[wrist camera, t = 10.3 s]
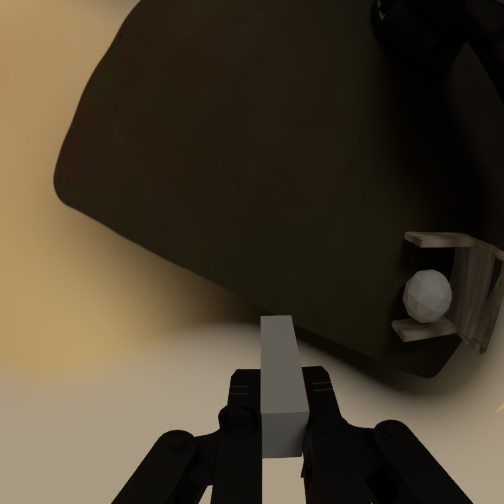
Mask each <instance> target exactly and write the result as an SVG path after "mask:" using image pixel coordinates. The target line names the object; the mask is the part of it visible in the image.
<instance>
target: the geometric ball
mask: <svg viewBox="0 0 504 504" xmlns="http://www.w3.org/2000/svg"><path fill="white" fill-rule="evenodd" d="M451 300H452V291H451V288H450V284H449V282H448V281H447V279H446V277H445V276H444V275H443V274H441V273H440V272H438V271H435V270H433V269H432V270H425V271H418V272H417V273H416V274H415V275H414V276H413V277H412V278H411V279H410V280H409V281H408V282H406V286H405V290H404V295H403V302H404V305H405V307H406V310H407V313H408V315H409V316H411V317H413V318H414V319H416V320H417V321H419V322H421V323H426V322H433V321H437V320H438V319H439V318H440V317H441V316H442V315H443V314H444V313H445V312H446V311H447V310H448V309H449V306H450V303H451Z"/></svg>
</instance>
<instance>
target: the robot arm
mask: <svg viewBox="0 0 504 504" xmlns="http://www.w3.org/2000/svg"><path fill="white" fill-rule="evenodd" d="M371 15H372V20H373V23H374V26H375V28H376V30H377V32H378V33H379V35H380V36H381V38H382V39H383V40H384V42H385V43H386V44H387V45H388V46H389V47H390V48H391V49H392V50H393V51H394V52H395V53H396V54H397V55H399V56H400V57H401V58H403V59H404V60H406V61H407V62H409V63H411V64H413V65H415V66H417V67H420V68H423V69H428V70H437V69H441V68H443V67H445V66H447V65H449V64H451V63H452V62H453V61H454V60H455V59H456V57H457V55H458V54H459V52H460V51H461V49H462V47H463V46H464V44H465V43H466V42H468V43H469V45H470V46H471V47H472V49H473V50H474V52H475V54H476V55H477V57H478V58H479V60H480V62H481V63H482V65H483V67H484V68H485V70H486V72H487V74H488V75H489V77H490V79H491V81H492V83H493V85H494V86H495V88H496V90H497V92H498V94H499V96H500V98H501V100H502V102H503V107H504V0H375V1H374V3H373V5H372V9H371ZM218 420H219V425H220V429H219V430H217V431H216V432H214V433H211V434H208V435H203V436H197V437H194V436H193V435H192V434H191V433H189V432H187V431H182V430H172V431H168V432H166V433H164V434H163V435H162V436H161V437H160V438H159V439H158V440H157V442H156V443H155V444H154V446H153V447H152V449H151V450H150V451H149V453H148V454H147V455H146V457H145V458H144V460H143V461H142V462H141V464H140V465H139V466H138V468H137V469H136V471H135V472H134V473H133V475H132V476H131V477H130V479H129V480H128V482H127V483H126V484H125V486H124V487H123V488H122V490H121V491H120V492H119V494H118V495H117V496H116V498H115V499H114V500H113V502H112V503H111V504H199V502H200V500H201V498H202V496H203V494H204V492H205V490H206V488H207V486H209V485H213V488H212V495H211V503H210V504H262V458H288V457H301V456H302V453H303V457H304V463H303V468H302V473H301V478H303V477H304V486H305V496H306V504H371V503H372V504H473V503H472V501H471V500H470V499H469V498H468V497H467V496H466V494H464V492H463V491H462V490H461V489H460V487H459V486H458V485H457V484H456V483H455V482H454V480H452V478H451V477H450V476H449V475H448V473H447V472H446V471H445V470H444V469H443V468H442V466H441V465H440V464H439V463H438V462H437V461H436V460H435V458H434V457H433V456H432V455H431V454H430V452H429V451H428V450H427V449H426V448H425V447H424V445H423V444H422V443H421V442H420V441H419V440H418V438H417V437H416V436H415V435H414V434H413V433H412V431H411V430H410V429H409V428H408V427H407V426H406V425H405V424H403V423H402V422H400V421H397V420H386V421H382V422H380V423H379V424H377V425H376V426H375V428H362V427H356V426H353V425H350V424H349V423H348V422H347V421H346V420H345V419H344V418H342V416H341V414H340V411H339V407H338V404H337V400H336V397H335V393H334V390H333V387H332V383H331V380H330V377H329V374H328V372H327V371H326V370H325V369H324V368H323V367H322V366H312V367H301V363H300V358H299V354H298V348H297V343H296V338H295V333H294V328H293V323H292V318H291V316H261V369H237V370H236V371H235V373H234V374H233V375H232V376H231V381H230V388H229V396H228V403H227V406H225V407H224V408H223V409H221V411H220V413H219V415H218Z"/></svg>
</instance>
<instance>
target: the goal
mask: <svg viewBox="0 0 504 504" xmlns="http://www.w3.org/2000/svg"><path fill="white" fill-rule="evenodd" d="M404 239H406V240H408V241H410V242H412V243H413V244H415V245H417V246H419V247H455V254H454V261H453V267H452V273H451V278H450V288H451V291H452V300H451V303H450V306H449V309H448V310H447V311H446V312H445V313H444V314H443V315H442V316H441V317H440V318H439V319H438V320H437V321H433V322H426V323H421V322H419V321H417V320H416V319H414V318H410V319H402V320H393V321H392V327H393V329H394V330H395V331H396V332H397V334H398V335H399V336H400V338H401V339H402V340H403V342H408V341H414V340H420V339H426V338H432V337H437V336H443V335H448V334H453V333H457V334H458V335H459V336H460V337H461V338H462V339H463V340H464V341H465V342H466V343H467V344H468V345H472V347H473V348H474V349H475V350H476V351H477V352H478V353H480V354H482V353H485V351H486V349H487V346H488V344H489V341H490V338H491V335H492V332H493V329H494V326H495V323H496V320H497V316H498V313H499V310H500V306H501V302H502V298H503V295H504V251H502V250H499V249H497V247H496V246H494V245H491V244H489V243H486V242H484V241H481V240H479V239H476V238H474V237H471V236H469V235H466V234H463V233H451V232H405V236H404ZM495 257H496V258H498V259H500V260H502V261H503V264H502V269H501V274H500V279H499V284H498V288H497V292H496V296H495V300H494V304H493V308H492V311H491V315H490V319H489V321H488V325H487V328H486V331H485V334H484V337H483V340H482V343H480V342H479V341H478V340H476V339H475V336H476V333H477V330H478V327H479V324H480V320H481V317H482V313H483V310H484V306H485V302H486V298H487V294H488V290H489V286H490V281H491V276H492V271H493V266H494V260H495Z"/></svg>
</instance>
